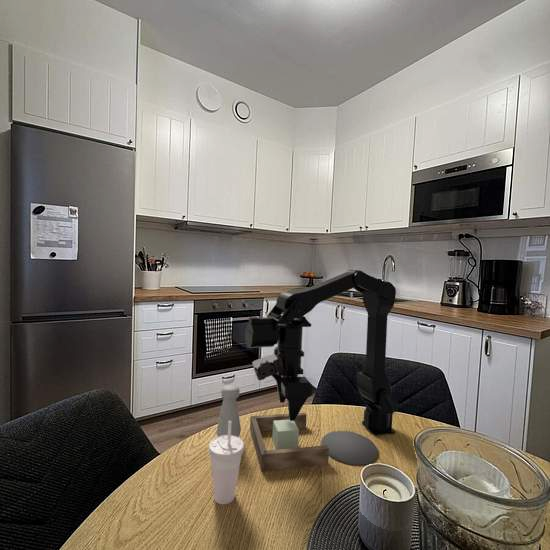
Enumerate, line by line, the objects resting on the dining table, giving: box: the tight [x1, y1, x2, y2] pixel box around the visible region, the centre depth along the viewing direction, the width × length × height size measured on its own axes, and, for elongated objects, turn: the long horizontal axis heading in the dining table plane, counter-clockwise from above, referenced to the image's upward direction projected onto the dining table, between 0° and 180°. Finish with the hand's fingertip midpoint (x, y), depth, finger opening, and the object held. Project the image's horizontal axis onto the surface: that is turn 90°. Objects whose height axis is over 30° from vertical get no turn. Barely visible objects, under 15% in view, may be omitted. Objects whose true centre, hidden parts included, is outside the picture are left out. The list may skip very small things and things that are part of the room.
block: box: [271, 420, 300, 450], centre depth 73 cm, size 5×5×5 cm
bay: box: [249, 412, 330, 472], centre depth 73 cm, size 15×16×4 cm
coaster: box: [320, 430, 379, 466], centre depth 73 cm, size 13×13×1 cm
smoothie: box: [207, 421, 245, 505], centre depth 56 cm, size 6×6×14 cm
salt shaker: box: [215, 384, 242, 438], centre depth 74 cm, size 6×6×13 cm
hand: (286, 410), depth 73 cm, fingers open, 9 cm apart
